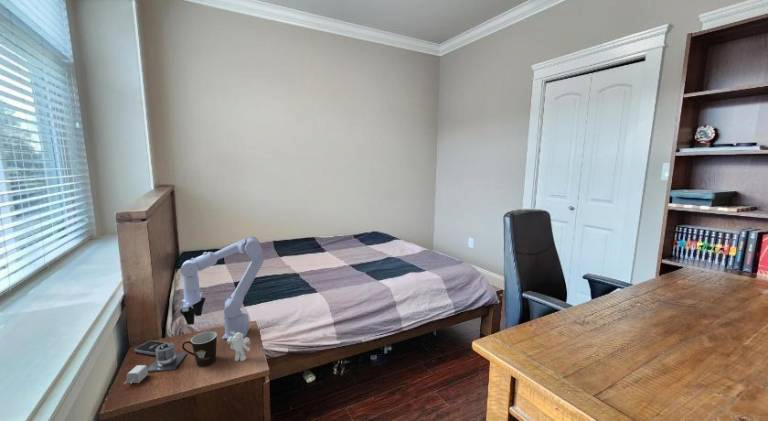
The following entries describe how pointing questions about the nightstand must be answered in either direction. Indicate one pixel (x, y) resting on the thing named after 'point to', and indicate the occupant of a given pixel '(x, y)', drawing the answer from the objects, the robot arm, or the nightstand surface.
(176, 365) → the silver sculpture on base
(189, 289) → the robot arm
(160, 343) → the external hard drive
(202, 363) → the coffee mug
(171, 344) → the ring
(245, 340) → the hat wearing toy figure
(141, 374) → the usb wall charger
